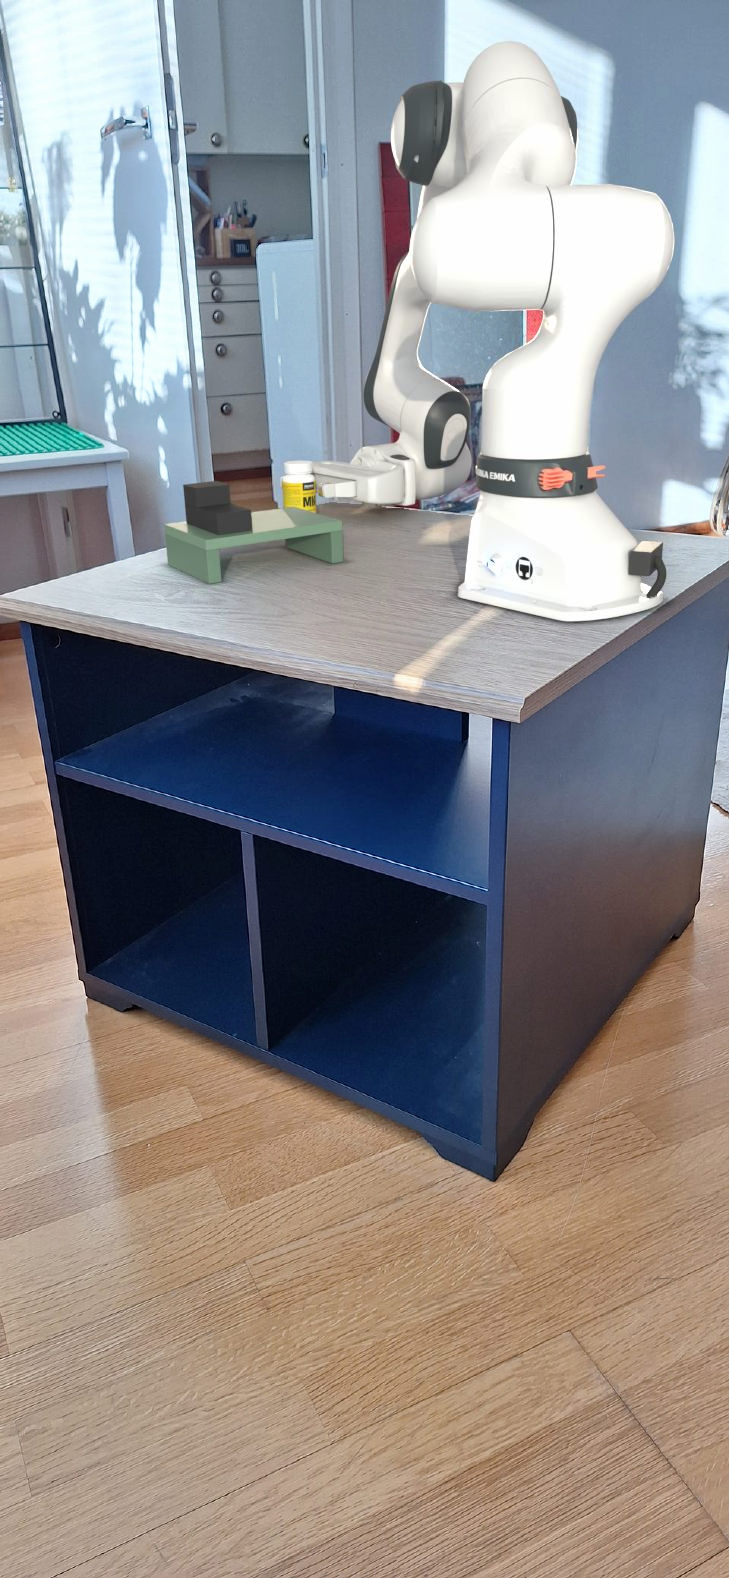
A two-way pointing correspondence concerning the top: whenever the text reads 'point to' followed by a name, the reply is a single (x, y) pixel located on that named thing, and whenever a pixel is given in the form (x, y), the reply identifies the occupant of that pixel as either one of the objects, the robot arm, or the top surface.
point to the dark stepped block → (214, 509)
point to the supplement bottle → (299, 486)
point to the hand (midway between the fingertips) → (301, 487)
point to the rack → (253, 540)
